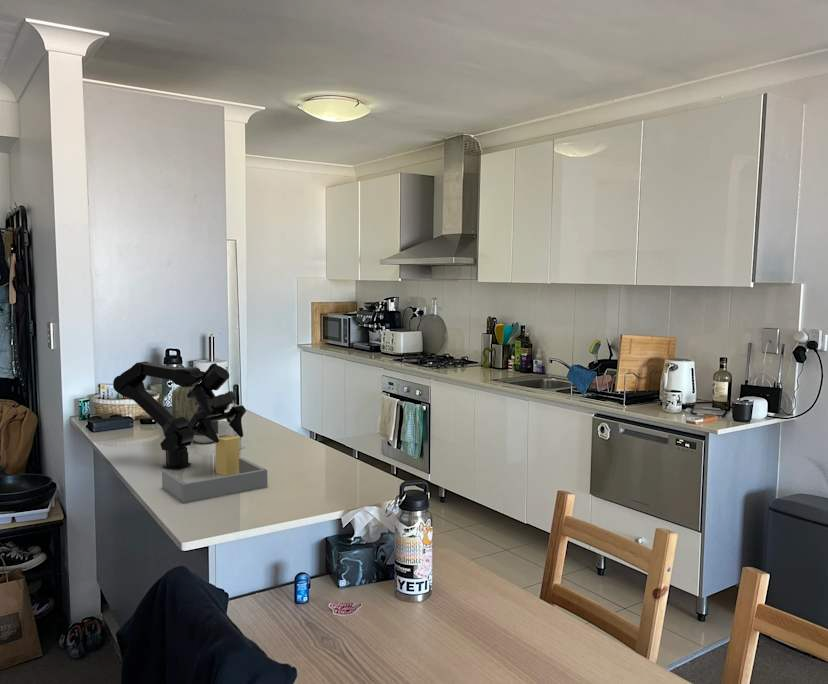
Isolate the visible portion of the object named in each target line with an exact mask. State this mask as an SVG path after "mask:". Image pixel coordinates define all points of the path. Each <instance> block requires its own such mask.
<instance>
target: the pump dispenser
mask: <svg viewBox="0 0 828 684" xmlns="http://www.w3.org/2000/svg"><path fill="white" fill-rule="evenodd" d="M199 407H200V406H199V405H198V407H197V409H196V411H195V413H201V412H203V411H201V412H199V410H198V409H199ZM218 421H219V420H218ZM218 421H212V422H211V426H212V428H213V430H214V431H215V433H216V435H217V437H219V434H218ZM193 440H195V441H196V443H199V444H210V443H214V441H213V440H211V439H209V438H208V437H206V436H204V435H202V434H200V433H198V432H197V433H196V432H195V431H194V438H193Z"/></svg>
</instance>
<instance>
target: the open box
mask: <svg viewBox="0 0 828 684" xmlns="http://www.w3.org/2000/svg"><path fill="white" fill-rule="evenodd" d="M161 477H162V478H161V481H162V482H161V484H162V485H161V487H162V489H163V490H164V491H166V492H167V493H168V494H170V495H171V496H172V497H174V498H175V499H177V500H178V501H179V502H181V503H182V504H186V503H187V504H188V503H192V502H198V501H204V500H208V499H212V498H219V497H222V496H223V497H224V496H229V495H234V494H239V493H245V492H249V491H250V492H251V491H255V490H261V489H266V488H268V469H266V468H264V467H263V466H260V465H258V464H256V463H254V462H252V461H250V460H248V459H246V458H244V457H239V473H235V474H231V475H228V476H225V475H222V476H218V477H212V478H206V479H200V480H195V481H191V482H185V481H183V480H181V479H180V478H178V477H177V476H176V475H175V474H173V473H171V472H170V471H169V470H167V469H164V470H163V469H162V470H161Z"/></svg>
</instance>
